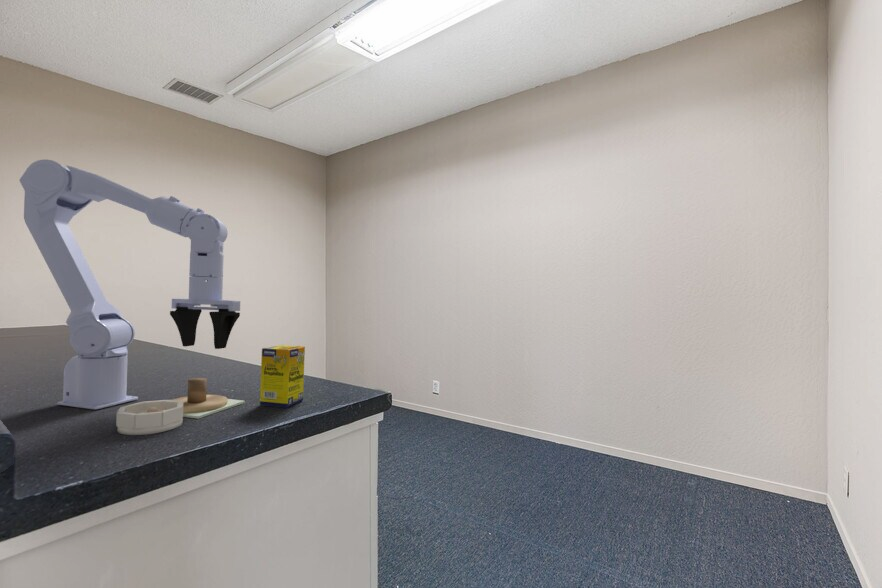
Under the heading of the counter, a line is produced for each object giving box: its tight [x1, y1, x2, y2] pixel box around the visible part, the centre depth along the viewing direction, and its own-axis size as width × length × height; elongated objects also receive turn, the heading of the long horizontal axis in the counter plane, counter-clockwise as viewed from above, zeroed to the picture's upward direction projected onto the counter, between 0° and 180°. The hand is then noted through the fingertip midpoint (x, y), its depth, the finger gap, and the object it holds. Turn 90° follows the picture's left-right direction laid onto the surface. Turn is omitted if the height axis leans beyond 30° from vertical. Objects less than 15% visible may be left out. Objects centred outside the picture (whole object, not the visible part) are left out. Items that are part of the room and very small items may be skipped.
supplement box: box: [259, 344, 306, 409], centre depth 82 cm, size 6×6×11 cm
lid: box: [171, 377, 228, 413], centre depth 77 cm, size 10×10×5 cm
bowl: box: [115, 399, 184, 436], centre depth 66 cm, size 8×8×3 cm
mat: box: [183, 398, 246, 420], centre depth 77 cm, size 11×11×1 cm
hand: (204, 347), depth 82 cm, fingers open, 7 cm apart
